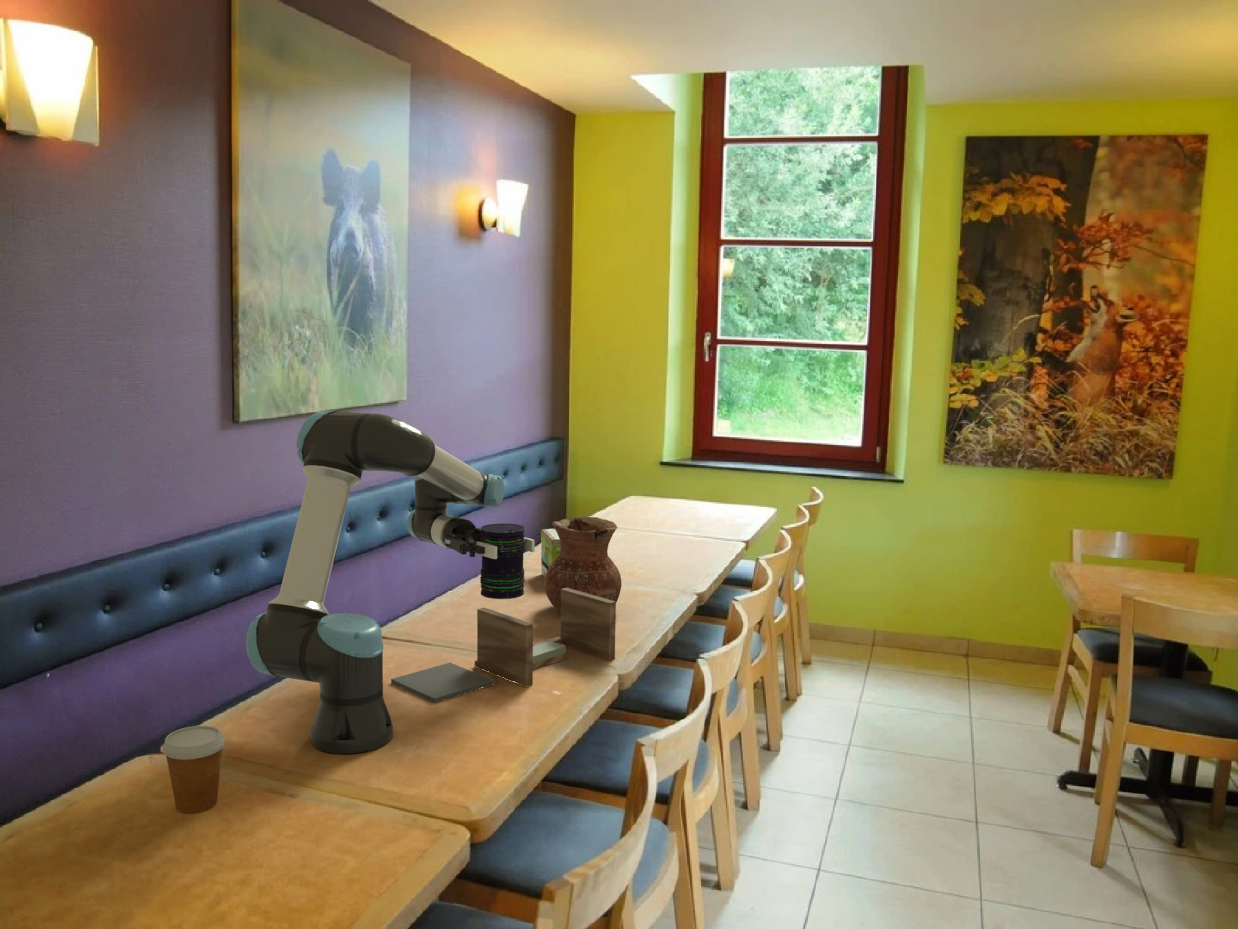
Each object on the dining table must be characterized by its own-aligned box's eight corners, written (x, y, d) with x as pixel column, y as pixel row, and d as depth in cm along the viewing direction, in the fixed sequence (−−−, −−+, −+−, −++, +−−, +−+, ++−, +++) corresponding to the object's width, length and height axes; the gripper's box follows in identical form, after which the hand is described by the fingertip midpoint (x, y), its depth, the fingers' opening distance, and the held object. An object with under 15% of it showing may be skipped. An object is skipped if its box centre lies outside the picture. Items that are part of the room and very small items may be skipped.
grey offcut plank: (532, 664, 239) (532, 656, 238) (516, 659, 242) (516, 651, 242) (565, 653, 247) (565, 645, 247) (550, 648, 250) (550, 640, 250)
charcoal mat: (434, 703, 217) (434, 698, 217) (391, 683, 228) (391, 679, 228) (494, 684, 229) (494, 680, 228) (450, 666, 239) (450, 662, 239)
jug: (632, 618, 280) (634, 527, 276) (558, 625, 272) (559, 532, 269) (603, 597, 300) (605, 512, 297) (534, 603, 293) (534, 516, 289)
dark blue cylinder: (471, 592, 232) (471, 527, 230) (506, 585, 239) (506, 521, 237) (498, 601, 225) (498, 534, 223) (533, 594, 231) (534, 528, 229)
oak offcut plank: (530, 673, 238) (530, 665, 238) (512, 666, 242) (512, 659, 242) (567, 660, 247) (567, 653, 247) (550, 654, 251) (550, 647, 251)
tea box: (540, 574, 325) (540, 528, 323) (571, 572, 328) (571, 526, 326) (551, 586, 311) (551, 538, 309) (583, 584, 314) (584, 536, 312)
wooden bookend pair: (525, 687, 227) (526, 625, 225) (474, 667, 240) (474, 608, 238) (614, 658, 247) (615, 601, 245) (563, 641, 260) (564, 586, 258)
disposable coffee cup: (205, 822, 165) (202, 750, 164) (152, 815, 167) (149, 744, 166) (238, 795, 175) (236, 727, 173) (188, 789, 177) (185, 722, 175)
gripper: (492, 542, 251) (553, 558, 235) (414, 555, 235) (473, 574, 220) (492, 511, 250) (553, 526, 234) (413, 523, 234) (473, 539, 219)
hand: (514, 549), depth 227 cm, fingers closed on dark blue cylinder, 10 cm apart
